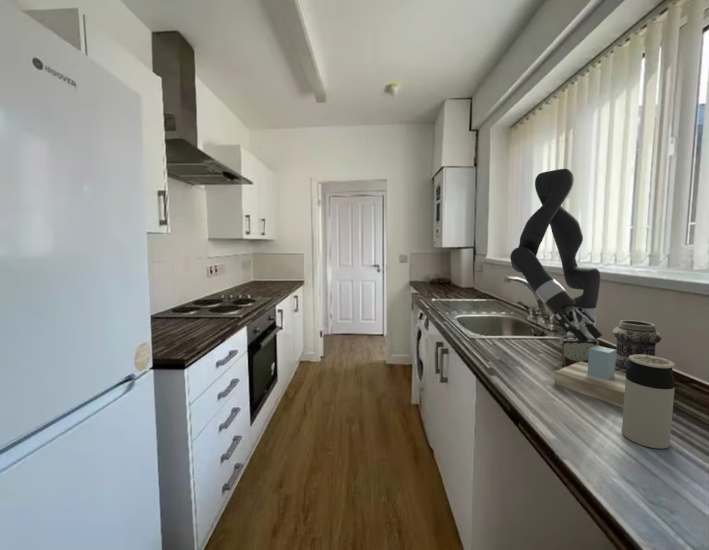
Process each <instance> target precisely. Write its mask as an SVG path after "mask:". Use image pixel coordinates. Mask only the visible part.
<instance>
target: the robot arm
mask: <svg viewBox="0 0 709 550" xmlns="http://www.w3.org/2000/svg"><path fill="white" fill-rule="evenodd" d="M573 186H574V174H573V172H572V171H571V170H570V169H568V168H560V169H554V170H547V171H543V172H540V173H539V174H538V175H536V177H535V180H534V187H535V193H536V195H537V197H538V199H539V201H540V204H541V206H540V207H539V208H538V209H536V211H535V212H534V213H533V214H532V215H531V216H530V217H529V219H528V220H527V221H526V223H525V225H524V228H523V230H522V232H521V235H520V237H519V244H518V247H516V248H513V250H512V251H511V253H510V256H509V258H510V259H509V260H510V262H511V263H510V264H511V267H512V268H513V270H514V271H516V272H517V273H522V275H523V276H524V278H525V281H526V282H527V284H528V285H529V286H530V287H531V289H532V290H533V291H534V292H535V294H536V295H537V297H538V298H539V299H540V301H542V303H543V304H544V305H545V306H546V307H547V308H548V310H549V311H550V312H551V314H553V318H554V319H555V320H556V322H557V323H558V325H560V327H561V328H562V329H563V330H564V332H565V333H566V335H575V336H576V338H577V339H578V340H579V341H580V342H581V343H585V342H587V341H588V340H589V339H588V338H587V337H591V338H594V339H597V340H598V339H600V338H601V337H602V336H603V335H602V333H601V332H600V331H599V330H598V329H597V327H596V318H597V317H596V316H597V304H598V300H599V294H600V293H599V292H600V287H601V286H600V285H601V273H600V271H599V269H598V268H597V267H591V266H590V267H587V266H579V265H578V263H577V260H576V259H577V258H576V256H577V254H578V252H579V249H580V247H581V245H582V243H583V239H584V236H583V235H584V234H583V231H582V228H581V225H580V222H579V221H578V219H577V218H576V217H575V216H574V214H572V213H571V212H569V211H568V210H567V209H566V208H565V207H564V206H563V203H564V201H566V199H567V197H568V195H569V194H570V193H571V190H572V188H573ZM549 226H550V229H551V233H552V236H553V238H554V239H553V240H554V242H555V244H556V248H557V250H558V254H559V258H560V261H561V266H562V272H563V276H564V281H565V283H566V285H567V287H569V288H570V289H574V290H582V294H581V295H579V296H575V297H573V296H572V295H571V294H570V293H569V292H568V291H567V290H566V289H565V288H564V287H563V286H562V285H561V284H560V282H558V281H557V280H556V279H555V278H554V277H553V276H552V275H551V274H550V273H549V272H548V270H546V269H545V268H544V266H543V264H542V263H541V262H540V260H539V259H538V257H537V254H538V251H539V248H540V246H541V243H543V239H544V237H545V234H546V233H547V230H548V228H549Z"/></svg>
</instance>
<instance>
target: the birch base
mask: <svg viewBox="0 0 709 550" xmlns="http://www.w3.org/2000/svg"><path fill="white" fill-rule="evenodd" d="M618 371H619V370H615V376H614V377H612V378H610V379H609V380H604V379H601V378H598V377H594V376H591V375H587V373H588V363H585V362H581V361H580V362H578V363H575V364H573V365H570V366H567V367H563V368H560V369H558V370H555V371H554V380H553V381H554V382H553V383H554V385H556V386H559V387H562V388H565V389H567V390H571V391H573V392H576V393H579V394H582V395H585V396H589V397H591V398H594V399H597V400H600V401H603V402H606V403H609V404H611V405H615V406H618V407H620V408H623V409H624V395H625V381H626V373H622V372H618Z"/></svg>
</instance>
